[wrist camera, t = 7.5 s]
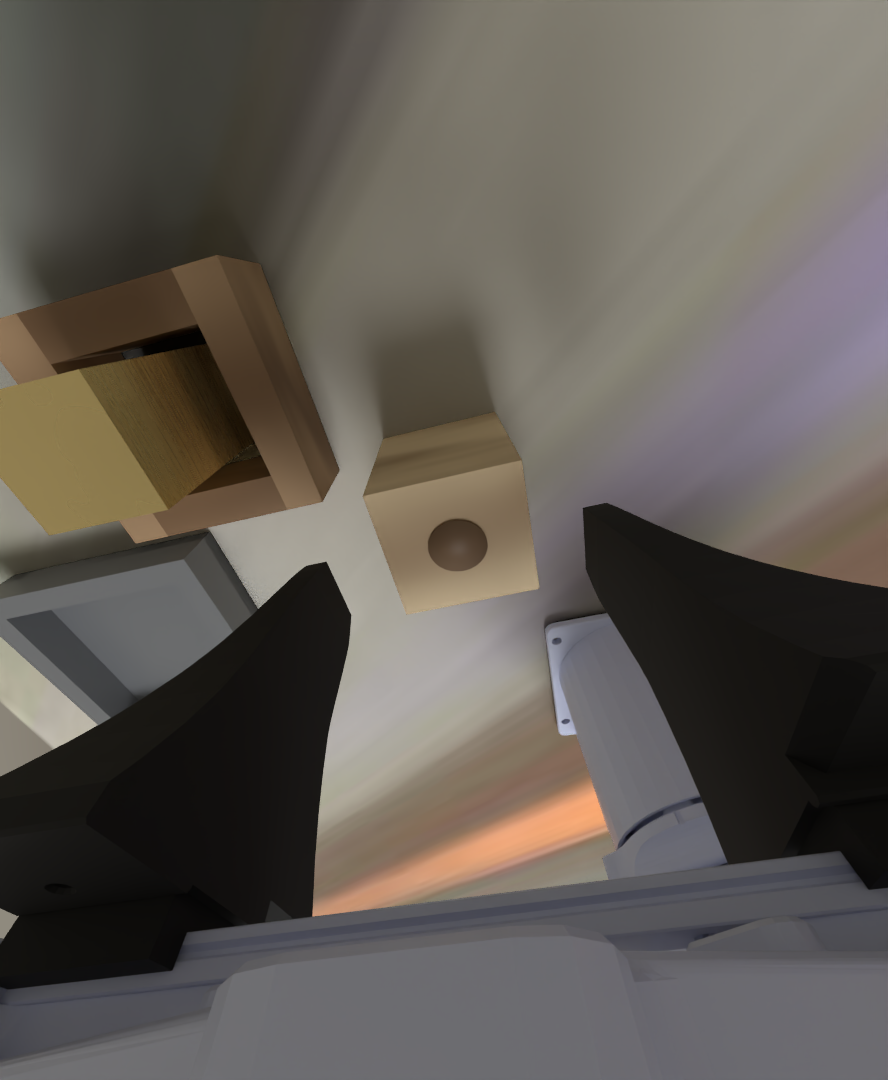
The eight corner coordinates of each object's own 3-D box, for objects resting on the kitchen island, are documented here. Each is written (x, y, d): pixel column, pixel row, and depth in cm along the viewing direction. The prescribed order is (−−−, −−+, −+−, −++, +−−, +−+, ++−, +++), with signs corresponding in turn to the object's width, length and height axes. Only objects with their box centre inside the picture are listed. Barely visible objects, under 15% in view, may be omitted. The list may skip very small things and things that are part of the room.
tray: (300, 678, 23) (288, 713, 21) (142, 707, 24) (117, 742, 22) (209, 531, 18) (183, 559, 16) (13, 575, 19) (-33, 606, 17)
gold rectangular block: (269, 428, 16) (168, 509, 10) (194, 445, 16) (48, 535, 10) (230, 338, 14) (78, 369, 8) (146, 360, 14) (-61, 405, 8)
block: (511, 512, 18) (539, 590, 13) (413, 533, 18) (406, 616, 13) (494, 411, 16) (522, 461, 11) (383, 438, 16) (362, 497, 11)
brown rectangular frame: (339, 470, 16) (322, 501, 14) (180, 506, 17) (135, 543, 15) (260, 263, 13) (216, 254, 10) (61, 320, 14) (-26, 325, 11)
